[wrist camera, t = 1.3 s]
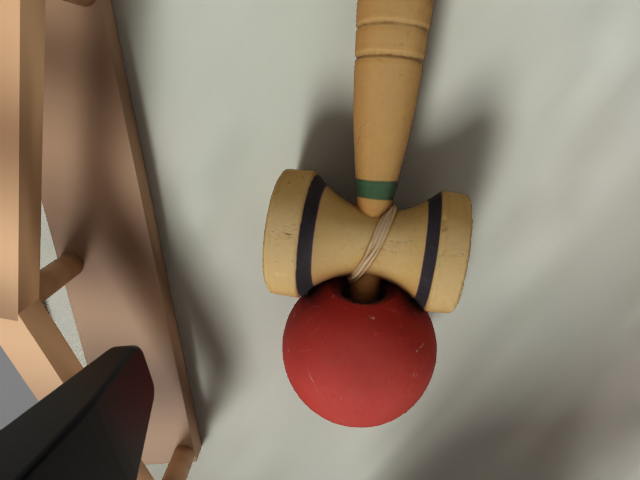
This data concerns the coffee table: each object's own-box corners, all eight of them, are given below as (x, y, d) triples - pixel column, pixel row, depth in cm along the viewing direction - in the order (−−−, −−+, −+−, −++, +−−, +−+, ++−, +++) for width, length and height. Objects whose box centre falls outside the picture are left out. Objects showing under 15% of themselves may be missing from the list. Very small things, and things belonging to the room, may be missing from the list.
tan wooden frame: (203, 446, 24) (167, 550, 19) (121, 451, 24) (63, 555, 19) (109, -22, 18) (13, -65, 12) (-3, -10, 18) (-144, -48, 12)
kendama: (270, -56, 18) (250, 381, 22) (288, -157, 12) (255, 474, 16) (459, -28, 20) (412, 378, 23) (559, -106, 14) (477, 463, 17)
